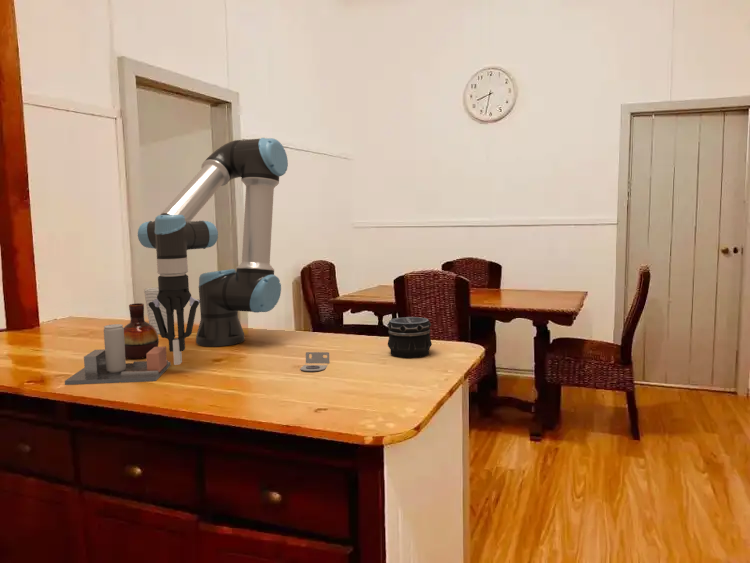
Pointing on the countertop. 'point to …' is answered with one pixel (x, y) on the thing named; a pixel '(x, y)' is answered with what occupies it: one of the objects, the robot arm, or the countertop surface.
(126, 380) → the grey vise base
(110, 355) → the beverage can
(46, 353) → the countertop surface
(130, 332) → the vase
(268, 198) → the robot arm
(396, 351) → the container
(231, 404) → the countertop surface
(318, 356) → the bracket
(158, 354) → the block
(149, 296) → the cup
